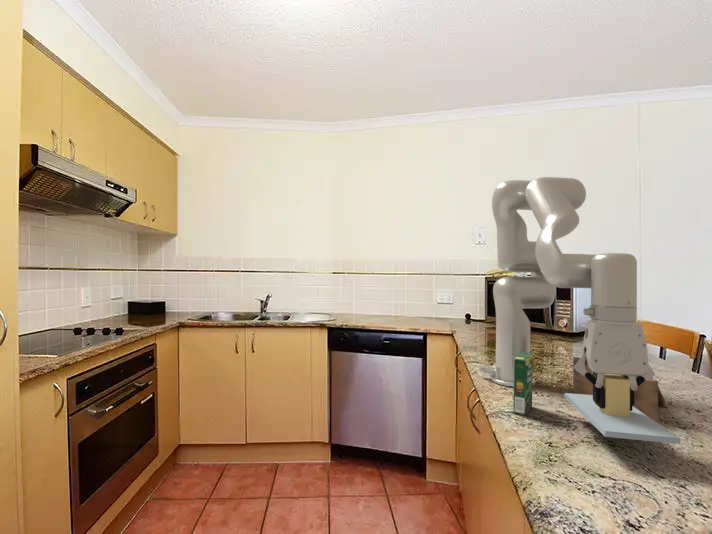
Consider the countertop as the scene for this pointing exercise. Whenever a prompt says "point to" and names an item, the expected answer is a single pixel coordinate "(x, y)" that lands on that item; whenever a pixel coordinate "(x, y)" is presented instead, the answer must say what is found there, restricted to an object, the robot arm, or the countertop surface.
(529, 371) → the coffee box
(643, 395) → the crate
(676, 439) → the lid
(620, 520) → the countertop surface
